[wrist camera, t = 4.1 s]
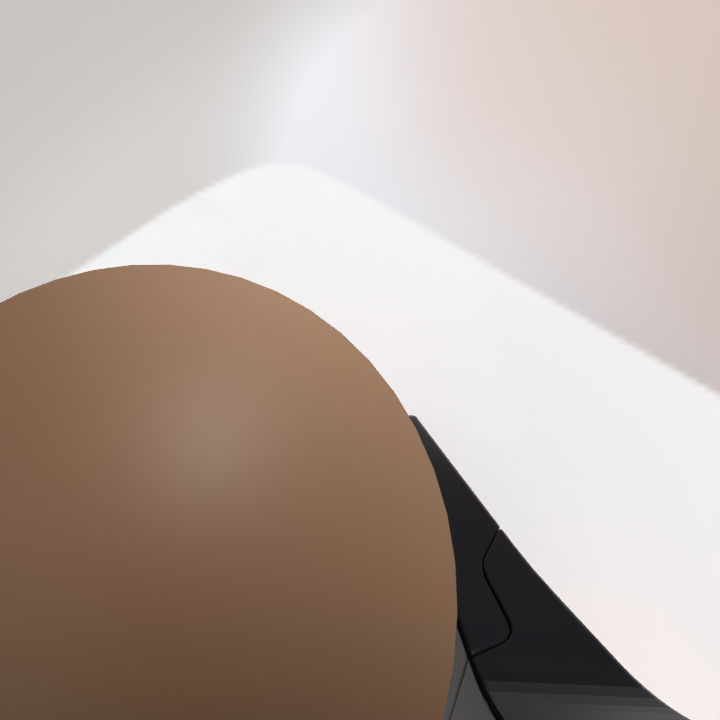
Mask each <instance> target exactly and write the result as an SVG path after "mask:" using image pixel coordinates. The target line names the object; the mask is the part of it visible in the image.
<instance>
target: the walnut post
mask: <svg viewBox="0 0 720 720" xmlns="http://www.w3.org/2000/svg"><path fill="white" fill-rule="evenodd" d="M456 625H457V592H456V569H455V558H454V552H453V546H452V540H451V534H450V528H449V522H448V516H447V512H446V508H445V505H444V502H443V498H442V495H441V491H440V488H439V485H438V481H437V478H436V474H435V471H434V468H433V466H432V464H431V461H430V459H429V457H428V455H427V452H426V450H425V448H424V445H423V443H422V441H421V439H420V436H419V434H418V432H417V429H416V428H415V426H414V424H413V423H412V421H411V419H410V418H409V416H408V414H407V413H406V411H405V409H404V408H403V406H402V404H401V403H400V401H399V399H398V398H397V396H396V394H395V393H394V391H393V390H392V389H391V388H390V386H389V385H388V384H387V382H386V381H385V380H384V379H383V377H382V376H381V375H380V374H379V372H378V371H377V370H376V369H375V367H374V366H373V365H372V363H371V362H370V361H369V360H368V359H367V358H366V357H365V356H364V355H363V354H362V353H361V352H360V351H359V350H358V349H357V348H356V347H355V346H354V345H353V344H352V343H351V342H350V341H349V340H348V339H346V338H345V337H344V336H343V335H342V334H341V333H340V332H339V331H337V330H336V329H335V328H333V327H332V326H331V325H329V324H328V323H327V322H325V321H324V320H323V319H321V318H320V317H319V316H317V315H316V314H315V313H313V312H312V311H310V310H309V309H307V308H305V307H304V306H302V305H300V304H298V303H296V302H294V301H293V300H291V299H289V298H287V297H285V296H284V295H282V294H280V293H278V292H276V291H274V290H271V289H269V288H266V287H264V286H261V285H258V284H256V283H253V282H251V281H248V280H246V279H243V278H240V277H236V276H232V275H228V274H224V273H220V272H215V271H211V270H207V269H201V268H192V267H183V266H174V265H129V266H122V267H114V268H106V269H99V270H92V271H88V272H84V273H80V274H76V275H72V276H69V277H65V278H61V279H57V280H54V281H51V282H49V283H46V284H43V285H41V286H38V287H35V288H33V289H30V290H27V291H25V292H22V293H19V294H17V295H15V296H13V297H11V298H10V299H7V300H5V301H4V302H1V303H0V720H443V716H444V711H445V706H446V701H447V696H448V690H449V685H450V680H451V675H452V670H453V665H454V651H455V638H456Z"/></svg>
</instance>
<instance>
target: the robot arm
mask: <svg viewBox="0 0 720 720" xmlns="http://www.w3.org/2000/svg"><path fill="white" fill-rule="evenodd" d="M408 416H409V418H410V419H411V421H412V423H413V424H414V426H415V428H416V429H417V432H418V434H419V436H420V439H421V441H422V443H423V445H424V448H425V450H426V452H427V455H428V457H429V459H430V461H431V464H432V466H433V468H434V471H435V474H436V478H437V481H438V485H439V488H440V491H441V495H442V498H443V502H444V505H445V508H446V512H447V516H448V522H449V528H450V534H451V540H452V546H453V552H454V558H455V569H456V592H457V625H456V638H455V651H454V665H453V670H452V675H451V680H450V685H449V690H448V696H447V701H446V706H445V711H444V716H443V720H690V719H688V718H686V717H685V716H683V715H681V714H680V713H678V712H677V711H675V710H674V709H672V708H671V707H669V706H668V705H666V704H665V703H664V702H662V701H661V700H660V699H658V698H657V697H656V696H655V695H653V694H652V693H651V692H650V691H649V690H647V689H646V688H645V687H644V686H643V685H642V684H641V683H639V682H638V681H637V680H636V679H635V678H634V677H633V676H632V675H631V674H630V673H629V672H628V671H627V670H626V669H625V668H624V667H623V666H622V665H621V664H620V663H619V662H618V661H617V660H616V659H615V658H614V656H613V655H612V654H611V653H610V652H609V651H608V650H607V649H606V648H605V647H604V646H603V645H602V644H601V642H600V641H599V640H598V639H597V638H596V637H595V636H594V635H593V634H592V633H591V632H590V631H589V630H588V628H587V627H586V626H585V625H584V624H583V623H582V622H581V621H580V620H579V619H578V618H577V617H576V616H575V615H574V613H573V612H572V611H571V610H570V609H569V608H568V607H567V606H566V605H565V604H564V603H563V602H562V601H561V599H560V598H559V597H558V596H557V595H556V594H555V593H554V592H553V591H552V590H551V588H550V587H549V586H548V585H547V584H546V583H545V582H544V581H543V579H542V578H541V577H540V576H539V575H538V574H537V573H536V572H535V570H534V569H533V568H532V567H531V566H530V564H529V563H528V562H527V561H526V559H525V558H524V557H523V556H522V555H521V553H520V552H519V551H518V550H517V548H516V547H515V546H514V545H513V543H512V542H511V541H510V539H509V538H508V537H507V535H506V534H505V533H504V531H503V530H501V529H500V527H499V525H498V524H497V522H496V521H495V520H494V518H493V517H492V516H491V514H490V513H489V512H488V511H487V509H486V508H485V507H484V505H483V504H482V503H481V501H480V500H479V499H478V497H477V496H476V495H475V493H474V492H473V491H472V490H471V488H470V487H469V486H468V484H467V483H466V482H465V480H464V479H463V478H462V476H461V475H460V474H459V473H458V471H457V470H456V469H455V467H454V466H453V465H452V463H451V462H450V461H449V459H448V458H447V457H446V455H445V454H444V453H443V452H442V450H441V449H440V448H439V446H438V445H437V444H436V442H435V441H434V440H433V438H432V437H431V436H430V434H429V433H428V432H427V431H426V429H425V428H424V427H423V425H422V424H421V423H420V421H419V420H418V419H417V417H415V416H413V415H408ZM499 529H500V530H499Z"/></svg>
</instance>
